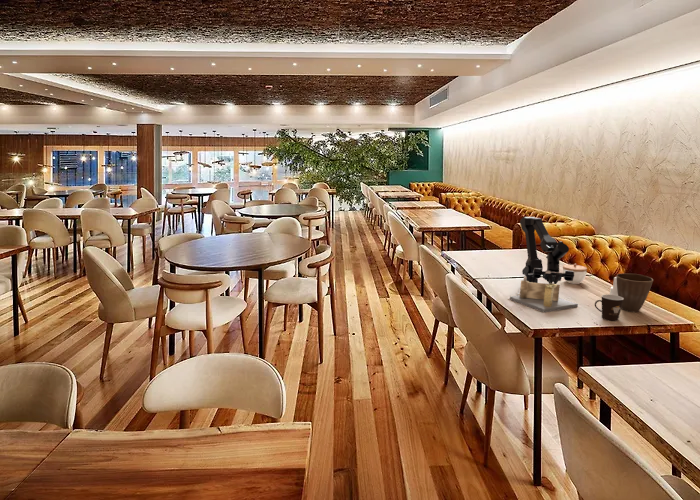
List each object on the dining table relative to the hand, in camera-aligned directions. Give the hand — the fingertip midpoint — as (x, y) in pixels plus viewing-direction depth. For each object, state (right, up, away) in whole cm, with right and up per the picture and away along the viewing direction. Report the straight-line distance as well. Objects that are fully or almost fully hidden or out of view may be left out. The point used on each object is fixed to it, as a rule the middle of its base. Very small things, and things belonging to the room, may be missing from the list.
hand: (552, 288), depth 234 cm
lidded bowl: (+29, 0, +41) cm, 50 cm away
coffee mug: (+15, -12, -21) cm, 28 cm away
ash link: (-6, -5, +2) cm, 8 cm away
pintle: (-13, +4, +2) cm, 14 cm away
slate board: (-5, -7, +1) cm, 8 cm away
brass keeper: (-5, -8, -6) cm, 11 cm away
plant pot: (+33, -9, -8) cm, 36 cm away
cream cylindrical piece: (+37, -6, +8) cm, 38 cm away
